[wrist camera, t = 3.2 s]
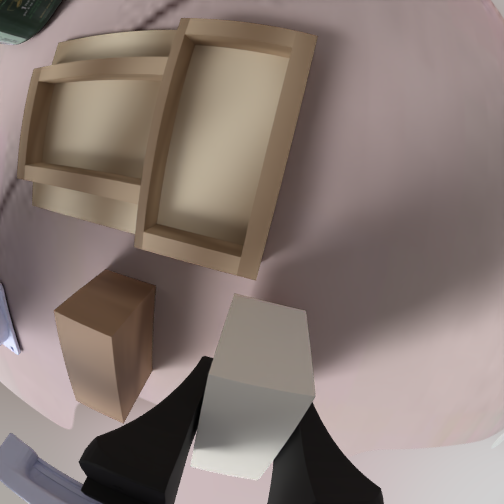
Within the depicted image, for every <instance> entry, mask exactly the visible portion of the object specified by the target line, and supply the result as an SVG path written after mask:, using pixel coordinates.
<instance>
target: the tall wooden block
mask: <svg viewBox="0 0 504 504" xmlns="http://www.w3.org/2000/svg"><path fill="white" fill-rule="evenodd" d="M155 290H156V286H155V285H152V284H149V283H146V282H143V281H140V280H136V279H133V278H130V277H127V276H124V275H121V274H118V273H115V272H112V271H109V270H106V269H105V270H104V271H103V272H101V273H100V274H99V275H98V276H96V277H95V278H94V279H92V280H91V281H90V282H88V283H87V284H86V285H85V286H83V287H82V288H81V289H80V290H78V291H77V292H76V293H75V294H73V295H72V296H71V297H70V298H68V299H67V300H66V301H65V302H63V303H62V304H61V305H60V306H59V307H57V308H56V309H55V310H54V315H55V321H56V326H57V331H58V336H59V340H60V345H61V349H62V353H63V357H64V361H65V365H66V369H67V372H68V376H69V379H70V382H71V386H72V389H73V392H74V395H75V398H76V401H78V402H80V403H82V404H84V405H86V406H88V407H90V408H92V409H94V410H96V411H98V412H100V413H102V414H104V415H106V416H108V417H110V418H112V419H115V420H117V421H119V422H122V423H124V422H125V420H126V418H127V416H128V414H129V412H130V410H131V409H132V407H133V405H134V403H135V401H136V399H137V398H138V396H139V394H140V392H141V390H142V388H143V387H144V385H145V383H146V381H147V379H148V378H149V376H150V374H151V372H152V349H153V322H154V304H155Z"/></svg>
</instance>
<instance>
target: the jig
mask: <svg viewBox="0 0 504 504" xmlns="http://www.w3.org/2000/svg"><path fill="white" fill-rule="evenodd" d="M317 37H318V36H316V35H312V34H308V33H304V32H299V31H295V30H290V29H285V28H280V27H275V26H269V25H263V24H256V23H249V22H240V21H230V20H218V19H198V18H181V20H180V23H179V26H178V29H177V30H146V31H131V32H120V33H111V34H104V35H97V36H90V37H85V38H79V39H74V40H69V41H65V42H60V43H58V46H57V49H56V52H55V56H54V59H53V62H52V65H51V66H46V67H41V68H36V69H34V70H33V74H32V77H31V81H30V86H29V90H28V94H27V99H26V104H25V109H24V115H23V121H22V128H21V135H20V143H19V153H18V166H17V178H18V179H23V180H28V181H33V190H32V205H33V206H36V207H39V208H43V209H46V210H50V211H53V212H57V213H60V214H64V215H67V216H71V217H75V218H78V219H82V220H85V221H89V222H92V223H96V224H99V225H103V226H107V227H110V228H114V229H118V230H121V231H125V232H128V233H132V234H135V241H134V247H135V248H138V249H142V250H145V251H149V252H152V253H156V254H159V255H163V256H166V257H170V258H174V259H177V260H181V261H184V262H188V263H192V264H195V265H199V266H203V267H207V268H210V269H214V270H218V271H222V272H225V273H229V274H233V275H237V276H241V277H244V278H248V279H252V280H256V278H257V275H258V271H259V267H260V263H261V260H262V256H263V252H264V248H265V244H266V241H267V237H268V233H269V229H270V225H271V222H272V218H273V214H274V210H275V206H276V202H277V198H278V195H279V191H280V187H281V183H282V179H283V175H284V171H285V167H286V163H287V159H288V155H289V151H290V147H291V144H292V140H293V136H294V132H295V128H296V124H297V120H298V116H299V111H300V107H301V103H302V99H303V95H304V91H305V87H306V83H307V79H308V75H309V71H310V66H311V62H312V58H313V54H314V50H315V46H316V41H317Z"/></svg>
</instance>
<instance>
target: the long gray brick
mask: <svg viewBox="0 0 504 504" xmlns="http://www.w3.org/2000/svg"><path fill="white" fill-rule="evenodd" d="M314 398H315V385H314V375H313V366H312V356H311V348H310V339H309V331H308V323H307V315H306V311H305V310H300V309H296V308H292V307H288V306H283V305H279V304H275V303H271V302H267V301H263V300H259V299H255V298H251V297H247V296H243V295H239V294H235V293H234V297H233V300H232V303H231V306H230V309H229V312H228V315H227V318H226V321H225V324H224V327H223V330H222V334H221V337H220V340H219V343H218V346H217V349H216V352H215V355H214V358H213V361H212V364H211V368H210V371H209V374H208V378H207V383H206V388H205V393H204V398H203V403H202V408H201V413H200V418H199V423H198V428H197V434H196V439H195V444H194V450H193V455H192V461H191V465H190V466H191V467H195V468H199V469H203V470H207V471H211V472H215V473H220V474H224V475H230V476H234V477H240V478H246V479H252V480H259V478H260V477H261V476H262V475H263V473H264V472H265V471H266V469H267V468H268V467H269V465H270V464H271V463H272V461H273V460H274V459H275V457H276V456H277V454H278V453H279V452H280V450H281V449H282V447H283V446H284V445H285V443H286V442H287V440H288V439H289V437H290V436H291V434H292V433H293V431H294V430H295V428H296V427H297V425H298V424H299V422H300V421H301V419H302V418H303V416H304V414H305V413H306V411H307V410H308V408H309V406H310V405H311V403H312V401H313V400H314Z"/></svg>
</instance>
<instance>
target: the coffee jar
mask: <svg viewBox="0 0 504 504" xmlns="http://www.w3.org/2000/svg"><path fill="white" fill-rule="evenodd" d="M61 1H62V0H0V43H1V44H8V45H15V44H21V43H23V42H25V41H27V40H28V39H30V38H31V37H32V36H33V35H35V34H36V33H37V32H39V31H40V30H41V29H42V28H43V26H44V25H45V24H46V23H47V21H48V20H49V19H50V17H51V16H52V14H53V13H54V11H55V10H56V8H57V7H58V6H59V4H60V3H61Z"/></svg>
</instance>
